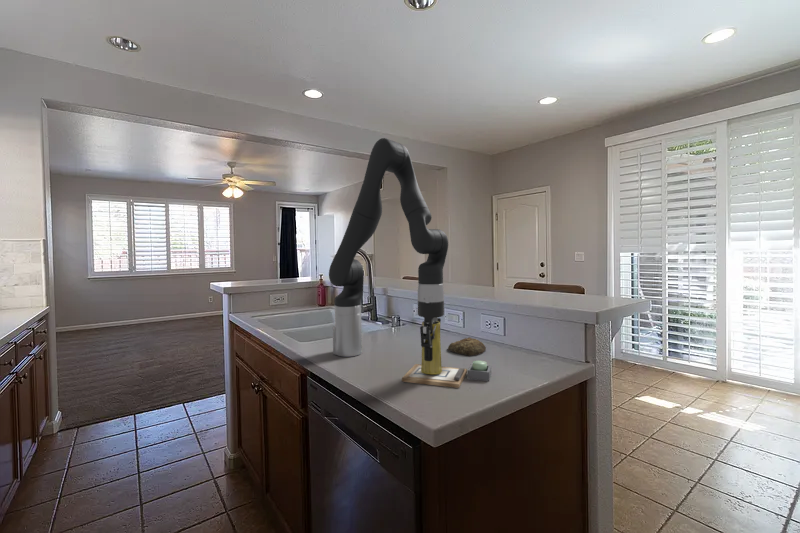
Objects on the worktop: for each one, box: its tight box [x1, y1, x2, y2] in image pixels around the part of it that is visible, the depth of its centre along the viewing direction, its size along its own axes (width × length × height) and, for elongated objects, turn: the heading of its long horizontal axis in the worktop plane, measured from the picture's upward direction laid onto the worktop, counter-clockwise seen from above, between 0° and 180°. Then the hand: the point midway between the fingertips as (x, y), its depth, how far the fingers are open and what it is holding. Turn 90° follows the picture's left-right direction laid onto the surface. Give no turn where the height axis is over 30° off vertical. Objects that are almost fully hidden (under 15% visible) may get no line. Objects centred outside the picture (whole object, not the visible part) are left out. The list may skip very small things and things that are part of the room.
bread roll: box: [447, 336, 487, 357], centre depth 135 cm, size 13×12×5 cm
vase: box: [420, 320, 443, 375], centre depth 108 cm, size 6×6×14 cm
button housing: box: [466, 363, 492, 382], centre depth 108 cm, size 6×6×2 cm
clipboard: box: [401, 363, 468, 389], centre depth 108 cm, size 16×13×2 cm
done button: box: [472, 360, 488, 371], centre depth 108 cm, size 4×4×2 cm
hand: (431, 357), depth 108 cm, fingers closed on vase, 5 cm apart
